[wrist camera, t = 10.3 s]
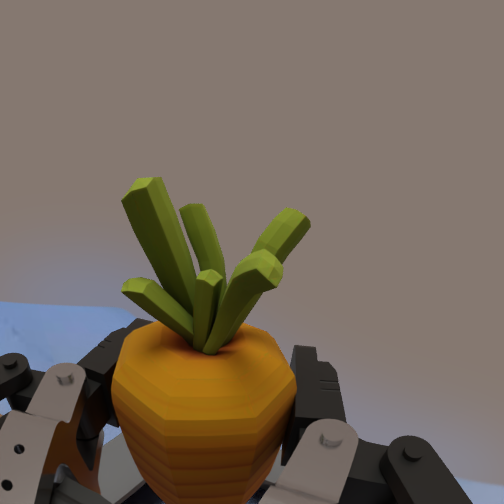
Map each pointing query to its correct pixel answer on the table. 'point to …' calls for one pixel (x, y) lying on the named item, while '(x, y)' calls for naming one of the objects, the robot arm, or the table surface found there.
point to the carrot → (202, 356)
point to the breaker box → (129, 478)
